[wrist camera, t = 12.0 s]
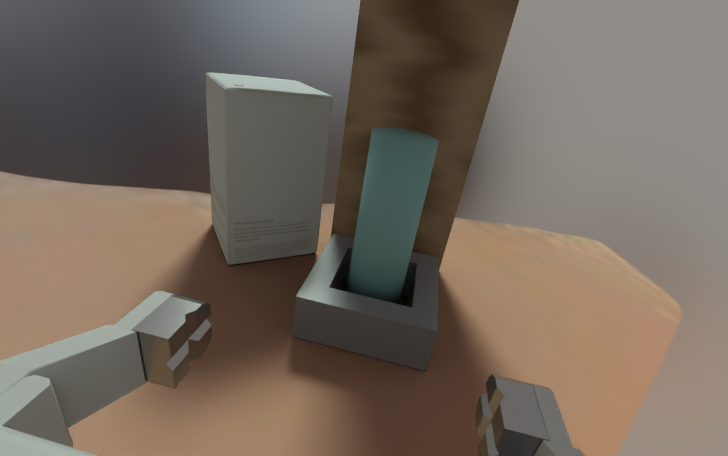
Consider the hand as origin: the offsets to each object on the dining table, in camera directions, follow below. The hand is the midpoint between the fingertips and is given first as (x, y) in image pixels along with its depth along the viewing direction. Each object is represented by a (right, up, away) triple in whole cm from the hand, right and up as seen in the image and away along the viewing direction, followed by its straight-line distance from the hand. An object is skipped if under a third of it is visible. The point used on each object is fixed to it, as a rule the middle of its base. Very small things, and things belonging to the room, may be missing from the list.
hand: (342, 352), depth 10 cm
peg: (+1, -2, +14) cm, 14 cm away
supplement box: (-8, +3, +21) cm, 22 cm away
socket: (+1, -2, +14) cm, 14 cm away
